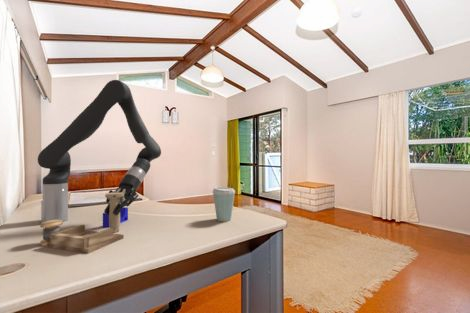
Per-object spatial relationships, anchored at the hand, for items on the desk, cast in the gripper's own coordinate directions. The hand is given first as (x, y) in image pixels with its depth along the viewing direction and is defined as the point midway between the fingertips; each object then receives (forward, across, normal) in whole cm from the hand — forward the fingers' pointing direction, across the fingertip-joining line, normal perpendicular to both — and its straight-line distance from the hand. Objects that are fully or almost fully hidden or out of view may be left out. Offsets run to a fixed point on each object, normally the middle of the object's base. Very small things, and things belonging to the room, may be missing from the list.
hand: (110, 213), depth 90 cm
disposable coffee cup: (-16, +35, +27) cm, 47 cm away
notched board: (+12, 0, -2) cm, 13 cm away
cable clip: (-2, -9, +14) cm, 16 cm away
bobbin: (+15, -11, -5) cm, 19 cm away
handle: (+4, 0, +7) cm, 8 cm away
